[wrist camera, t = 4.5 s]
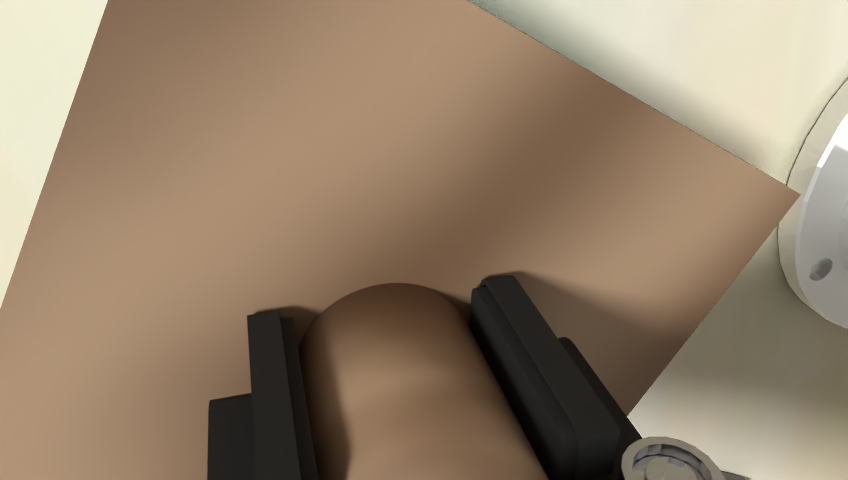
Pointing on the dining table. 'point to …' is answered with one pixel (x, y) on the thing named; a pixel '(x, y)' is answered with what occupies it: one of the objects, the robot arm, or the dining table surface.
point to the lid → (348, 235)
